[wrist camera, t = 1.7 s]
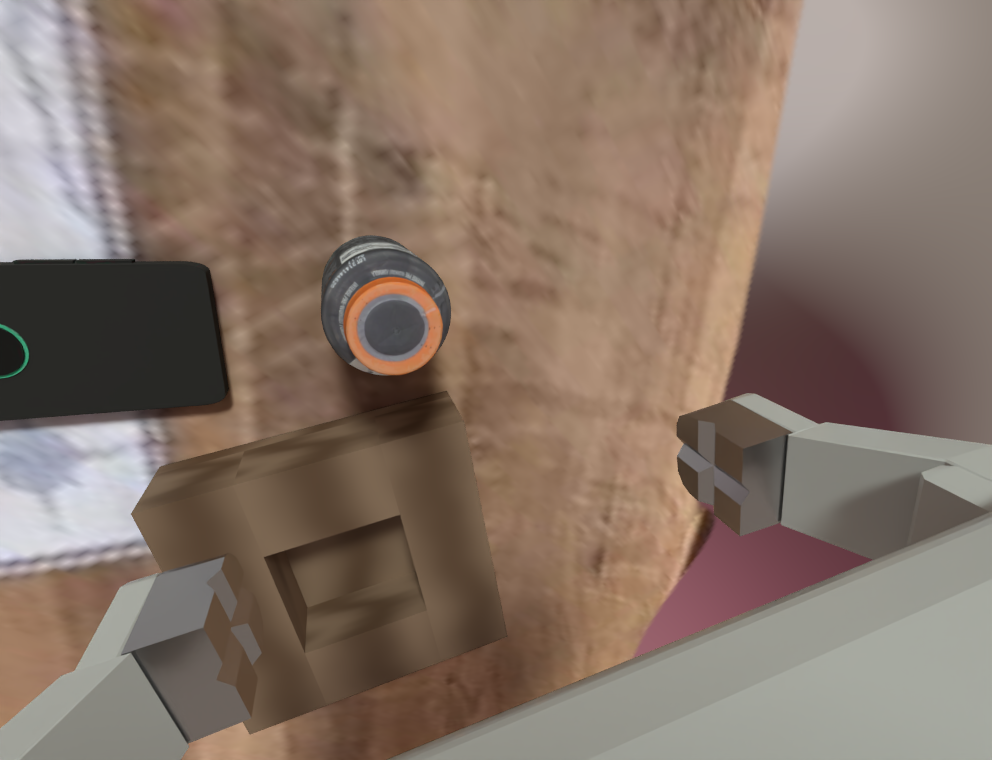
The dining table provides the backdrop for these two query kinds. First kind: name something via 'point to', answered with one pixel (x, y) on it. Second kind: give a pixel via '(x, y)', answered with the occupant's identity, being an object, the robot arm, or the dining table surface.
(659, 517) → the dining table surface
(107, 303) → the smart home device
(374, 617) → the walnut holder
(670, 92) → the dining table surface
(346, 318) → the pill bottle
